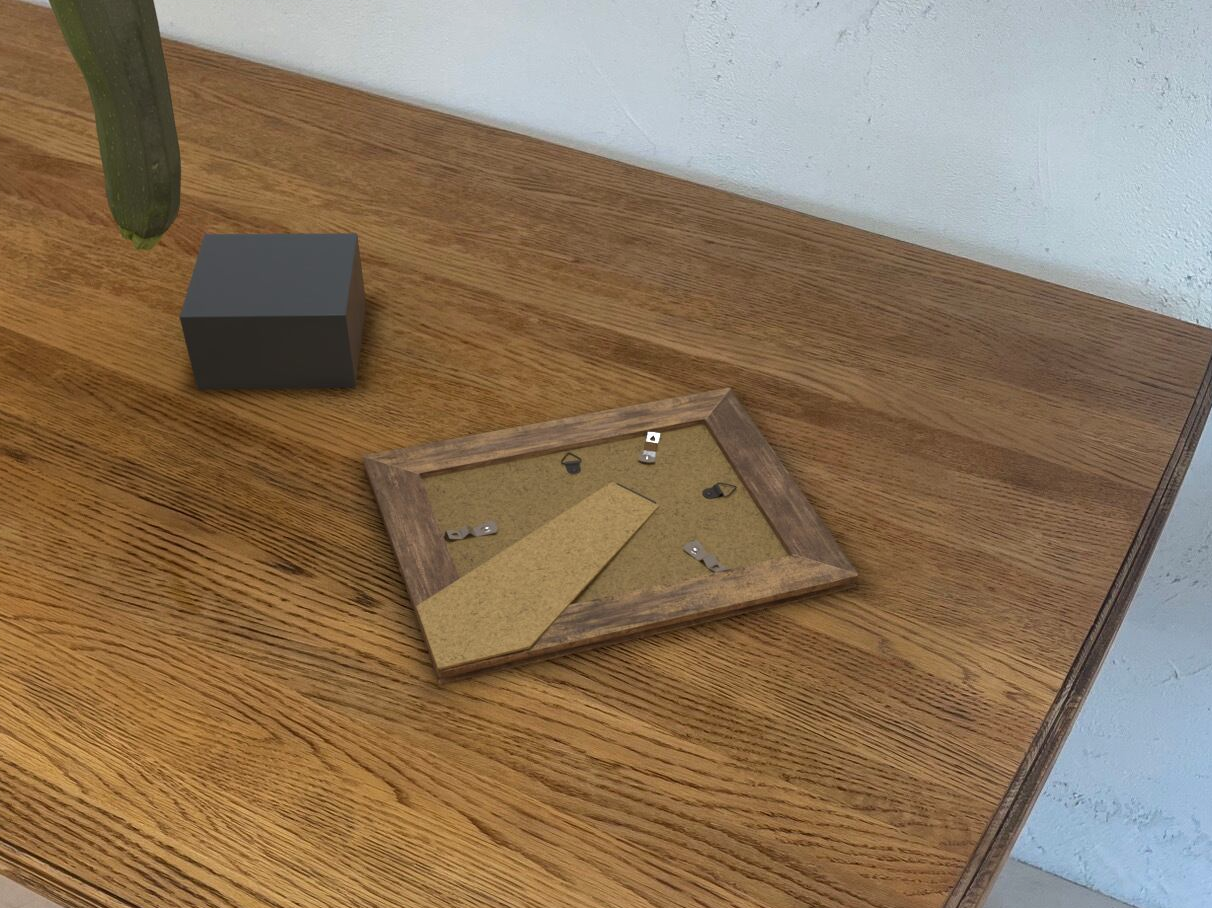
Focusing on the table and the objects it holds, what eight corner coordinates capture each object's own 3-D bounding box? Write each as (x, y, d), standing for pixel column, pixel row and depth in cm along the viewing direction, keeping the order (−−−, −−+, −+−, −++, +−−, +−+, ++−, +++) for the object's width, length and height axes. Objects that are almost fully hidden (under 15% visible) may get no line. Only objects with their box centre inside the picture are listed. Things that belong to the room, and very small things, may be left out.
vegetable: (207, 227, 68) (114, -232, 54) (202, 272, 65) (102, -201, 51) (116, 231, 67) (-3, -233, 53) (107, 277, 64) (-22, -201, 50)
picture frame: (440, 692, 69) (854, 595, 75) (437, 668, 68) (859, 571, 74) (365, 475, 81) (727, 406, 88) (361, 451, 80) (730, 383, 86)
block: (198, 398, 86) (179, 316, 82) (220, 313, 93) (203, 233, 89) (357, 395, 87) (345, 314, 83) (367, 311, 94) (357, 232, 90)
